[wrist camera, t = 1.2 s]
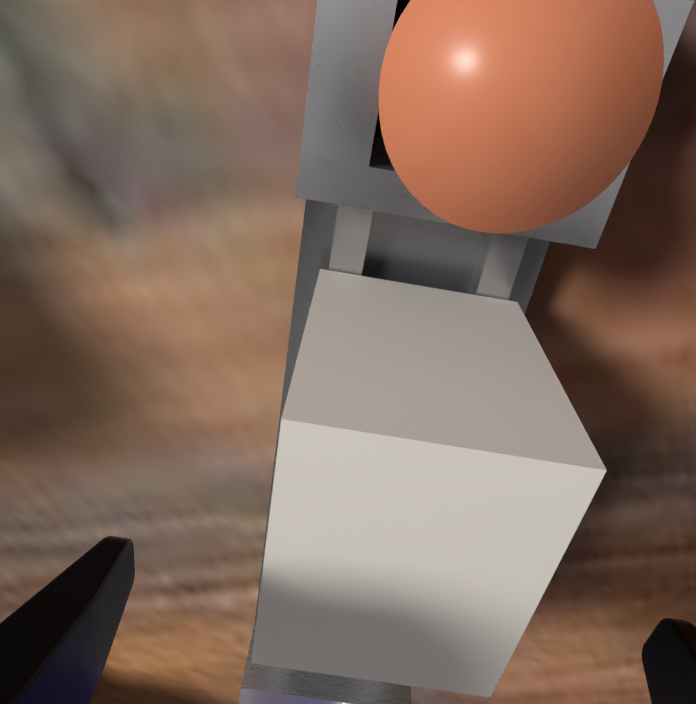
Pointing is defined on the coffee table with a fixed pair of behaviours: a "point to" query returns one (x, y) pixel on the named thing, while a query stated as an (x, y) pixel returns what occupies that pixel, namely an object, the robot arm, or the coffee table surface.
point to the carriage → (417, 488)
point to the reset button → (517, 104)
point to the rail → (392, 243)
